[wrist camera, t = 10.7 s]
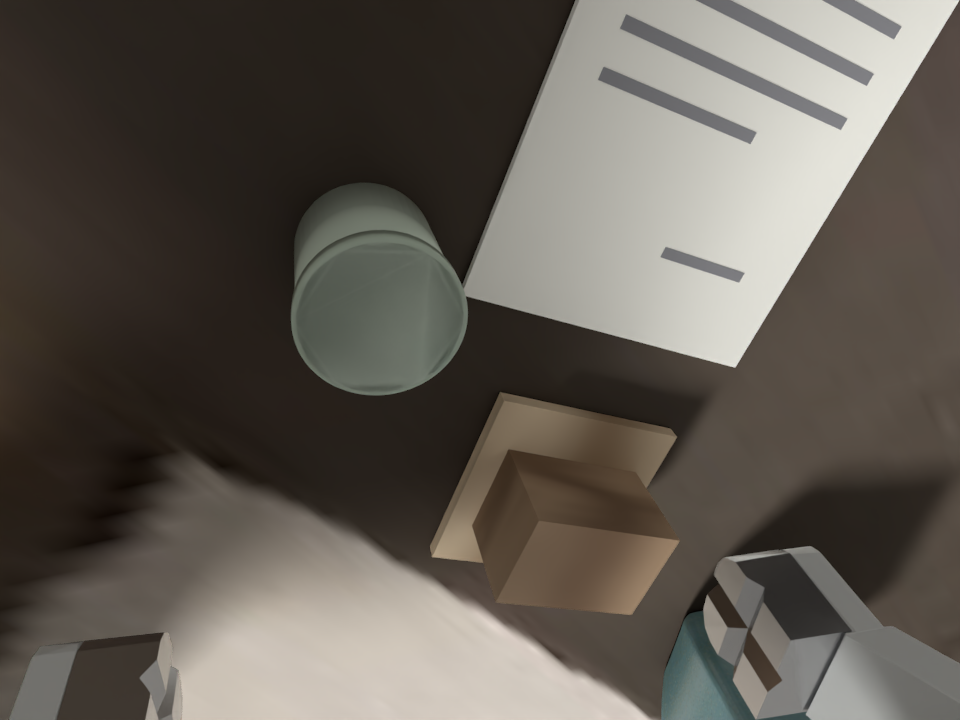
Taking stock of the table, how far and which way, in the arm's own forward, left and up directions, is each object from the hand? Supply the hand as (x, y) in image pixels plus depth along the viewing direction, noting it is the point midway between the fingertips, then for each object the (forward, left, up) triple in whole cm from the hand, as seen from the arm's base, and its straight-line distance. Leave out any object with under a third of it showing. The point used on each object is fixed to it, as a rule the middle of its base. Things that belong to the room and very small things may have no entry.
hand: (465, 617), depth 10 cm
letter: (+9, +8, -15) cm, 19 cm away
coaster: (+10, -8, -15) cm, 20 cm away
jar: (0, 0, -15) cm, 15 cm away
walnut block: (+10, -8, -14) cm, 19 cm away
